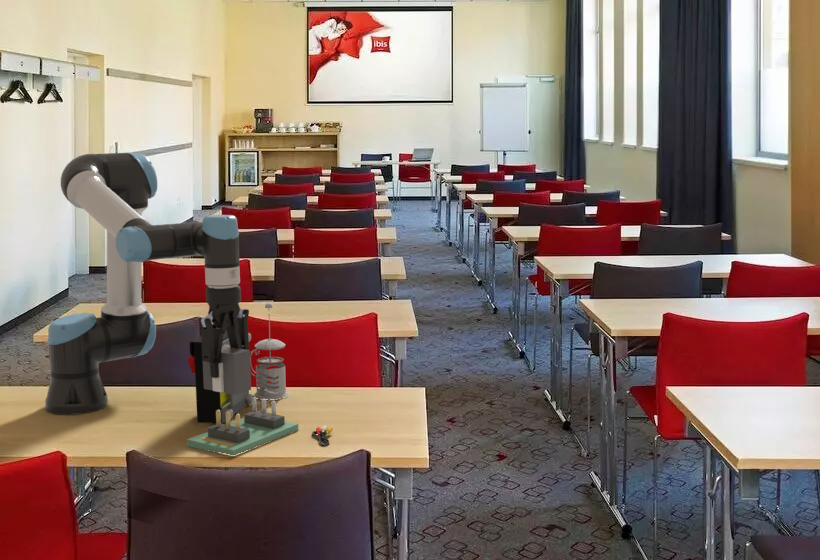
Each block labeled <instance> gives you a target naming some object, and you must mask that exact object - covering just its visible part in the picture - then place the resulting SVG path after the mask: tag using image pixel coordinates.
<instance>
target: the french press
mask: <svg viewBox="0 0 820 560" xmlns="http://www.w3.org/2000/svg"><path fill="white" fill-rule="evenodd" d="M264 308H265V309H268V310H270V309H272V308H273V304H272V303H271V302H270V303H269V302H268V303H266V304H265V306H264ZM270 320H271V319H270V315H268V331H269V332H268V335H269V336H268V337H269V338H266V339H265V338H264V339H263V340H259V341H258V342H257V343H255V344H254V347H255V349H253V350H252V351H250V369H251V371H253V373H254V374H253V373H252V372H251V375H252V376H254V377H255V379H256V380H255V381H256V382H255V383H256V392H255V393H254V394H253V395H254V397H256V398H258V399H268V400H270V399H279V398H283V397H286V396H288V395H289V394H290V393H289V392H288V390H286V389H287V387H286V365H285V363H283V362H284V361H285V359H284V358H283V357H279V356H272V355H271V353H272V352H271V351H276V350H281V349H284V348H285V347H286V343H284V342H282V341H281V340H279V339H274V338H271V321H270ZM257 350H258V351H257ZM261 350H262V351H269V356H264V357H260V358H258V359H256V362H257V365H255V370H254V367H253V366H252V355H253V354H255V355H256V356H257V355H258V356H259V354H260V351H261ZM270 367H274V368H270ZM276 367H277V368H276ZM268 368H269V369H268ZM255 374H256V375H255ZM288 397H289V396H288ZM258 399H257V400H258Z"/></svg>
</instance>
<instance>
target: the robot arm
mask: <svg viewBox="0 0 820 560" xmlns="http://www.w3.org/2000/svg"><path fill="white" fill-rule="evenodd" d="M60 189H61V192H62V194H63V196H64V197H65V198H66V200H67V201H68V202H69V203H70V204H71V205H72V206H73V207H76V208H78V209H80V210H81V209H82V210H84V211H85V212H86V213H87V214H89V216H91V217H92V218H93V219H94V220H95V221H97V223H98V224H100V225H101V227H102V228H103V229H105V230H106V303H105V304H103V305H102V307H101V308H100V317H97V316H96V315H95V314H94V313H90V312H82V313H74V314H69V315H66V316H60V317H59V318H57V319H54V320H53V321H52V322H51V323H49V326H48V328H47V329H48V331H47V333H48V338H47V344H48V352H49V354H48V355H49V356H48V357H49V367H50V368H49V369H50V382H49V385H48V390H47V396H46V398H45V400H44V401H45V411H46V412H48V413H50V414H51V413H52V414H54V415H55V414H56V415H78V414H86V413H90V412H95V411H98V410H101V409H103V408H106V406H107V405H109V399H108V398H109V397H108V394H107V392H106V389H105V385H104V383H103V381H102V379H101V376H100V369H99V364H100V363H105V362H111V361H118V360H124V359H131V358H132V359H133V358H137V357H138V356H143V355H146V354H147V353H149V352H150V351H151V349H153V346H154V344H155V341H156V337H157V325H156V323H155V321H156V320H155V318H154V316H153V314H152V313H151V312H150V311H148V307H147V305H145V304H144V303H143V302H142V262H145V261H146V262H147V261H155V260H156V261H157V260H164V259H173V258H174V259H175V258H183V257H184V258H185V257H193V256H194V257H195V256H200V257H203V258H204V273H205V274H204V278H205V283H204V284H205V285H206V286H207V287H206V288H205V298H206V299H205V300H206V303H207V305H208V311H207V315H206V316H204V317H199V318H198V324H199V326H200V333H201V335H200V336H201V342H202V360H203V361H205V362H209V363H210V375H211V377H212V384H213V391H216V392H224V378H223V363H220V357H221V350H222V343H223V336H224V333H225V332H226V330H227V334H228V338H229V343H230V347H232V348H239V349H245V350H250V344H249V343H250V342H249V338H248V333H249V323H248V321H249V315H250V310H249V309H247V308H241V307H240V304H239V303H240V302H241V301H242V293H241V292H242V291H241V290H242V289H241V288H242V287H240V285H239V284H240V283H241V277H240V276H241V275H240V274H241V272H240V271H241V270H240V268H241V267H240V237H239V236H240V231H239V228H238V227H239V226H238V219H237V217H236V216H235V215H232V214H211V215H206V216H204V217H203V219H202V221H198V220H186V221H182V222H181V223H180V222H179V223H178V222H177V223H168V224H152V223H150V222H149V221H147V220H146V219H145V218H144V217H143V212H144V211H145V210H147V209H148V208H149V200H150V199H152V198H154V197H155V196H156V194H157V193H156V192H157V191H158V175H157V173H156V169H155V167H154V165H153V163H152V161H151V160H150V159H149V158H148V157H147V156H146V155H145V154H142V153H138V152H137V153H136V152H113V153H112V152H109V153H108V152H107V153H85V154H82V155H79V156H76V157H75V158H73V159H71V160H70V161H69V162H68V163H67V165H66V166H65V167H64V169H63V170H62V173H61V176H60ZM217 328H220V329H217ZM243 346H244V347H243ZM214 356H215V358H214Z"/></svg>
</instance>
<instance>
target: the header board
mask: <svg viewBox="0 0 820 560" xmlns="http://www.w3.org/2000/svg"><path fill="white" fill-rule="evenodd" d="M270 403H271V404H270V405H271V412H267V400H265V399H262V400H261V411H260V410H257V408H258V405H257V399H256V397H253V398H252V403H251V405H252V407H251V408H252V411H250V412H248V413H245V414H243V416H244V417H243V418H241V414H240V413H236V414H235V421H233V422H231V421H232V420H231V419H230V412H226V421H225V424H224V423H221V413H220V410H216V424H215V425H211V426H209V427H207V431H206V432H203V433H201V434H198V435H196V436H193V437H190V438H187V439H186V443H187V447H190V448H195V449H199V450H202V449H203V451H207V450H209V451H208V452H211V451H215V452H221V453H226V454H230V455H236V454H238V453H241V452H244V451H246V450H249V449H252V448H254V447H256V446H259V445H261V446H263V445H262V444H264V443H266V442H269V441H271V442H273V441H276V440H278V439H280V438H279V437H281V438H282V436H283V437H285V436H288V435H289V433H290V434H292V432H293V433H294V432H297V431H299V423H295V422H291V421H286V420H285V416H284V415H279V414H277V410H276V409H277V408H276V407H277V404H276V403H277V402H276V400H271V402H270ZM287 434H288V435H287ZM277 438H278V439H277ZM275 439H276V440H275ZM272 440H273V441H272ZM269 443H270V442H269ZM266 444H267V443H266ZM264 445H265V444H264ZM259 447H260V446H259ZM256 448H257V447H256ZM254 449H255V448H254ZM252 450H253V449H252ZM249 451H250V450H249ZM215 452H214V453H215ZM244 453H245V452H244Z"/></svg>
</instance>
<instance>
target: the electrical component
mask: <svg viewBox="0 0 820 560" xmlns="http://www.w3.org/2000/svg"><path fill="white" fill-rule="evenodd" d="M217 329H220V328H217ZM248 338H249V343H250V341H251V340H252V334H251V333H250V332H248ZM222 346H226V347H230V343H229V338H228V334H227V330H226V332H225V333H224V336H223V343H222ZM243 347H244V346H243ZM189 353H190V357H188V356H187V358H186V359H187V361H188V362H187V363H188V365H189V368H190V371H191V373H192V374H194V376H195V377H194V378H195V379H194V380H195V381H194V382H195V397H196V399H195V400H196V401H195V402H196V421H197V423H198V424H199V423H200V424H215V425H216V410H220V413H221V424H224V423H226V412H230V420H231V419H232V418H233V417H234V416H235V415H236V414H238V412H239V410H243V408H245V407H246V406H247V405H249V404H250V403H251V404H252V398H253V395H254V394H252V393H251V394H250V390H248V391H245V392H242V393H239V394H236V395H234V394H229V393H224V392H216V391H213V390H207V389H204V381H203V360H202V342H201V335H200V336H199V337H197V338H194V339H192V340H191V341H190V342H189ZM235 413H236V414H235Z"/></svg>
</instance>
